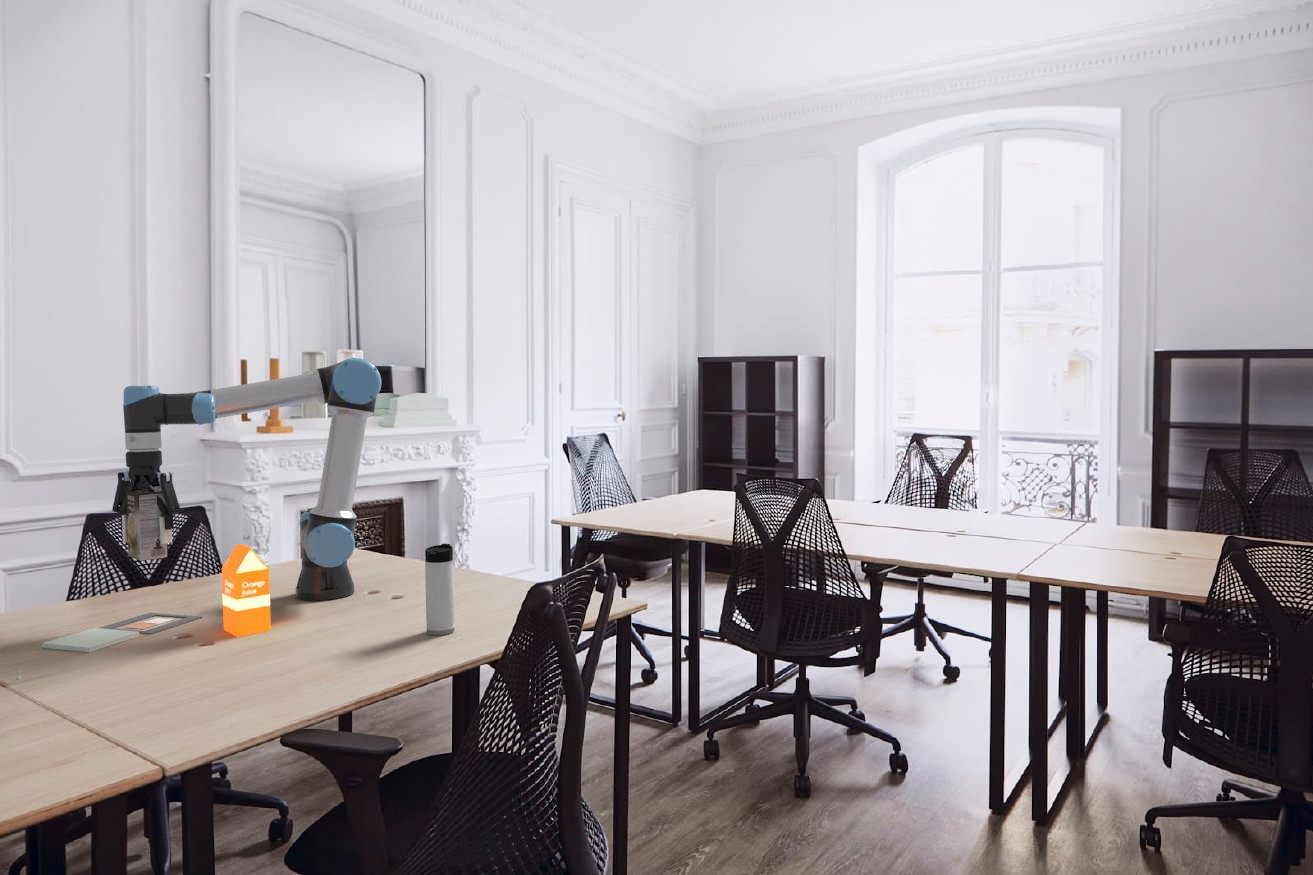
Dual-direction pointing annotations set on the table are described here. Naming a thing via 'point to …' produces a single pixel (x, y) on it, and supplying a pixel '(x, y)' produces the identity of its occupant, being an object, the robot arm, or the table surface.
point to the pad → (91, 640)
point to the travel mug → (439, 589)
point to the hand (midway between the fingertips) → (147, 542)
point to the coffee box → (144, 525)
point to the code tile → (153, 621)
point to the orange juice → (245, 593)
